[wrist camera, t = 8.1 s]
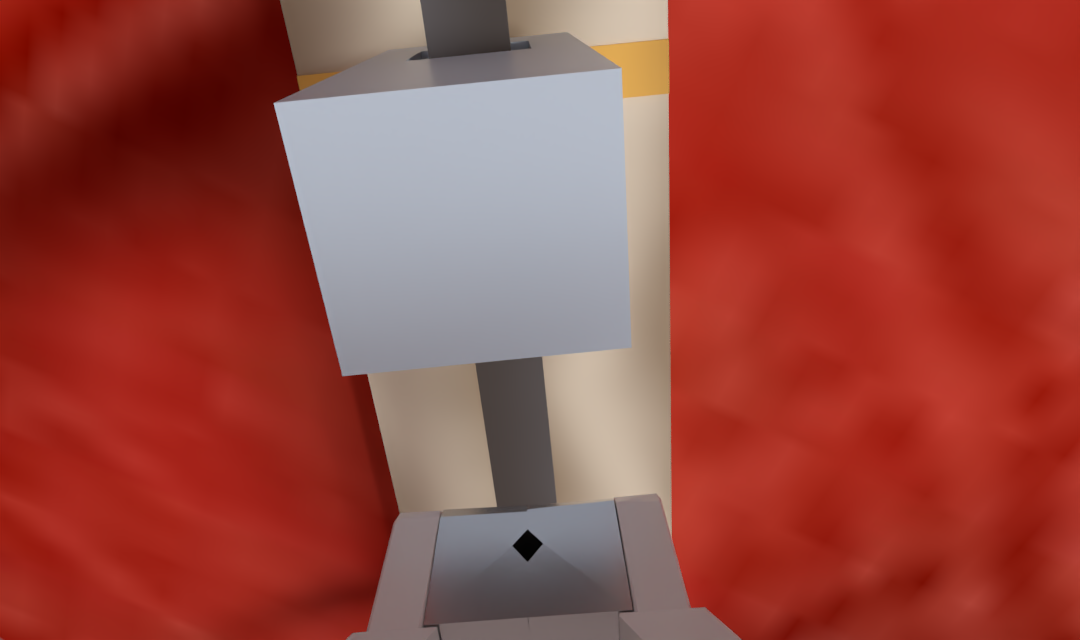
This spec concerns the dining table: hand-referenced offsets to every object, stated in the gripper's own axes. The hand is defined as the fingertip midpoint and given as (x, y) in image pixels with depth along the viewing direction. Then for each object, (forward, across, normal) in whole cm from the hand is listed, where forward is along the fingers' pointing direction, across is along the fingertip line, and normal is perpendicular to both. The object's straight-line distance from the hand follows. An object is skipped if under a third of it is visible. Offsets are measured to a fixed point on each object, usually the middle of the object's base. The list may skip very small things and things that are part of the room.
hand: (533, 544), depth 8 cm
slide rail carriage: (+12, +1, -3) cm, 12 cm away
